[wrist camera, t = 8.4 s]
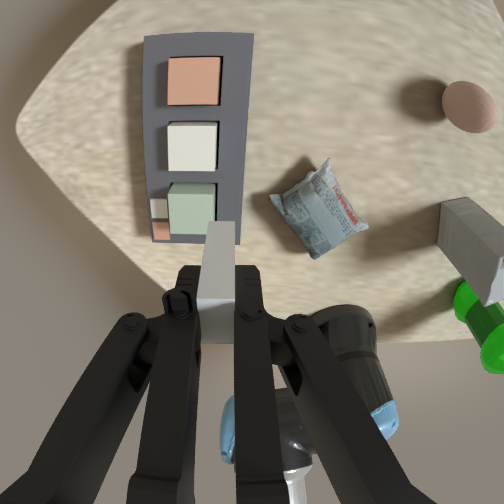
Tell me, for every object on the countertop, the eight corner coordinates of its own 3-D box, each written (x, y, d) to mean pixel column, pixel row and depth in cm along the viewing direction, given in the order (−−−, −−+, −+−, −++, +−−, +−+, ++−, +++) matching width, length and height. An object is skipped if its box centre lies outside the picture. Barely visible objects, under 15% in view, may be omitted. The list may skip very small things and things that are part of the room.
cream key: (216, 160, 33) (214, 171, 29) (175, 159, 32) (168, 171, 29) (218, 119, 30) (215, 126, 27) (175, 120, 30) (167, 126, 26)
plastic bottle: (463, 308, 53) (514, 395, 32) (437, 303, 50) (492, 404, 30) (488, 273, 47) (549, 360, 27) (464, 265, 45) (534, 364, 25)
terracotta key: (219, 100, 29) (216, 104, 26) (175, 101, 28) (167, 105, 25) (221, 59, 26) (219, 57, 23) (176, 60, 26) (168, 58, 22)
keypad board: (239, 232, 39) (239, 246, 36) (157, 230, 38) (151, 243, 35) (252, 37, 25) (254, 33, 23) (151, 38, 24) (143, 35, 22)
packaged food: (323, 151, 33) (335, 164, 29) (364, 220, 39) (377, 239, 35) (265, 190, 36) (268, 207, 32) (312, 252, 42) (320, 274, 38)
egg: (464, 124, 30) (507, 144, 23) (430, 122, 31) (474, 142, 23) (464, 80, 27) (510, 92, 19) (429, 75, 27) (475, 84, 19)
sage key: (215, 217, 36) (213, 234, 33) (176, 216, 35) (170, 233, 32) (215, 180, 33) (213, 194, 30) (174, 180, 33) (167, 193, 29)
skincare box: (462, 237, 41) (514, 297, 28) (431, 245, 42) (483, 312, 29) (469, 193, 37) (533, 249, 24) (436, 199, 37) (501, 261, 24)
